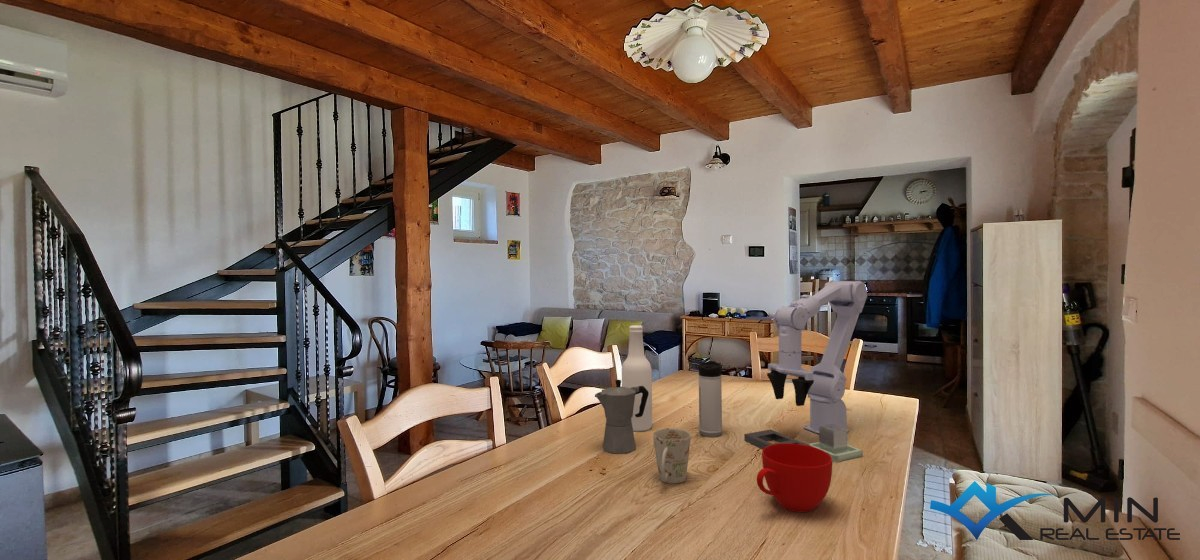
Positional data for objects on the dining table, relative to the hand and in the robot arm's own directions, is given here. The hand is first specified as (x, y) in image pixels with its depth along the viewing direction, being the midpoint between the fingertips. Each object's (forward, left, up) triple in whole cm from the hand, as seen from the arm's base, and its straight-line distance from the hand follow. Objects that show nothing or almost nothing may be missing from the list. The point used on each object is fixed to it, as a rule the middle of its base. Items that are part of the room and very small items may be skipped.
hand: (789, 402), depth 138 cm
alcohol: (+31, -28, -11) cm, 43 cm away
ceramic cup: (+27, +29, -11) cm, 41 cm away
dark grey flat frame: (+6, +5, -10) cm, 13 cm away
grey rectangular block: (-3, +12, -10) cm, 16 cm away
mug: (+42, +9, -11) cm, 45 cm away
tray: (-3, +12, -10) cm, 16 cm away
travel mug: (+15, -14, -11) cm, 23 cm away
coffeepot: (+42, -15, -11) cm, 46 cm away
